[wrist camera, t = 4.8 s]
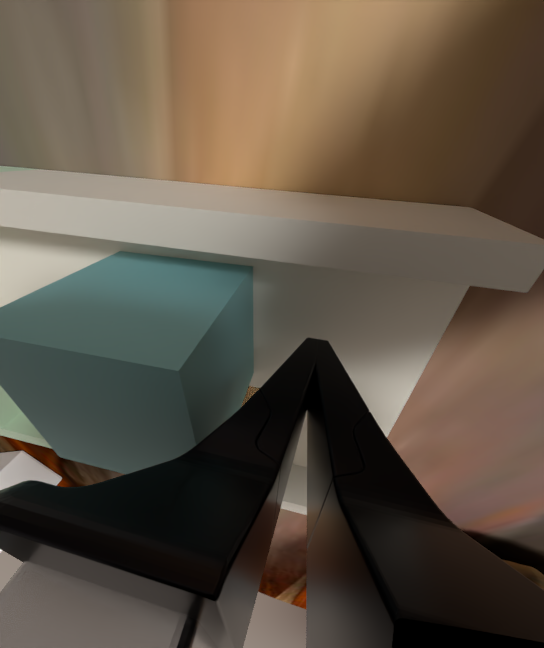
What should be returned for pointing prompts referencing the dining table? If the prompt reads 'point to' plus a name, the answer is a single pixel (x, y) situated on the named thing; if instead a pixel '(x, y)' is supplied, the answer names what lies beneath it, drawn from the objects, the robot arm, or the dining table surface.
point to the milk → (24, 470)
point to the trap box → (275, 269)
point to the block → (131, 357)
